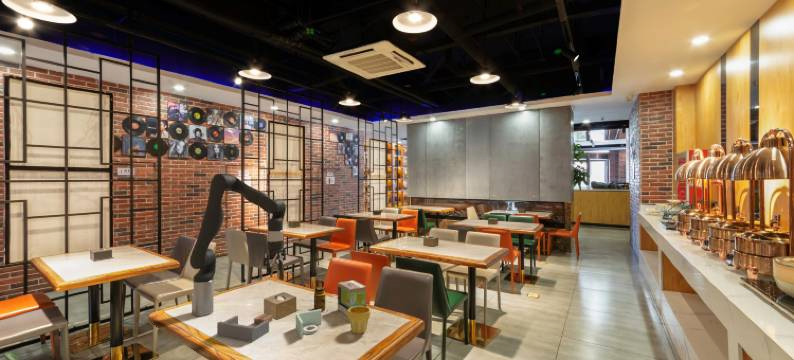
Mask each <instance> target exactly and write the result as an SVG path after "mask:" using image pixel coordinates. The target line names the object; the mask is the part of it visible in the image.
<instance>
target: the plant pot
mask: <svg viewBox="0 0 794 360" xmlns="http://www.w3.org/2000/svg"><path fill="white" fill-rule="evenodd" d="M347 318H348V319H349V324H350V329H351V332H352V333H354V334H355V335H356V334H364V333H365V332H366V331H367V327H368V323H369V319H370V318H371V309H370V307H367V306H366V307H365V306H355V307H351V308H349V309H348V316H347Z"/></svg>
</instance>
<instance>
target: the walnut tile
mask: <svg viewBox="0 0 794 360" xmlns="http://www.w3.org/2000/svg"><path fill="white" fill-rule="evenodd" d="M266 320H267V321H269V324H270V323H271V322H272V321H273V314H267V313H261V314H259V315H257V316H256V317H254V318H253V324H254V325H256V326H258V325H259V324H261V323H263V322H265V321H266Z"/></svg>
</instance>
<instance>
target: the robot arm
mask: <svg viewBox="0 0 794 360" xmlns="http://www.w3.org/2000/svg"><path fill="white" fill-rule="evenodd" d="M225 192H234V193H237V194H239V195H241V196H242V197H243V198H244V199H245V200H247V201H248V202H249V203H251V204H253V205H255V206H257V207H259V208H261V209H262V210H263V211H264V212H266V213H267V214H270V215H271V214H272V215H271V217H270V218H269V219H268V221H267V233H266V235H267V237H266V249H267V250H268V253H263V263H262V266H263V267H265V268H266V275H272V268H273V267H272V265H273V264H274V263H275V261H278V263H277V270H278V271H283V270H284V269H283V267H284V266H283V265H284V261H286V260H287V258H286V257H287V255H286V254H287V251H286V250H287V249H286V248H284V224H283V223H284V219H285V216H286V215H285V214H286V209H287V205H286V202H285V200H283V199H280V198H276V199H274V198H273V199H272V198H270V197H269V195H268V194H267V193H265V192H263V191H260V190H258V189H256V188H254V187H252V186H250V185H248V184H247V183H245V182H243V180H241V179H240V178H238V177H237V176H235V175H234V174H231V173H220V172H219V173H215V175H214V176H213V177H212V179H211V182H210V188H209V194H208V198H207V203H206V207H205V211H204V214H203V218H202V220H201V225H200V228H199V233H198V234H197V238H196V241H195V244H194V246H193V249H192V252H191V254H190V257H189V264H190V267H191V268H192V269H195V270H198V272H197V273H196V274H195V275H193V294H192V296H191V315H193V316H195V317H204V316H209V315H210V314H212V313H214V302H215V301H214V292H215V290H214V288H215V287H214V286H215V285H214V278H215V277H214V276H215V274H216V268H217V267H216V266H217V255H216V252H215V250H213V249H212V248H209V247H210V245H211V242H212V241H213V240H214V239H215V237H216V236H217V235H218V233H219V232H220V230H221V228H222V226H223V222H224V218H225V215H224V214H225V213H224V210H223V207H222V200H223V197H224V193H225Z"/></svg>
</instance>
